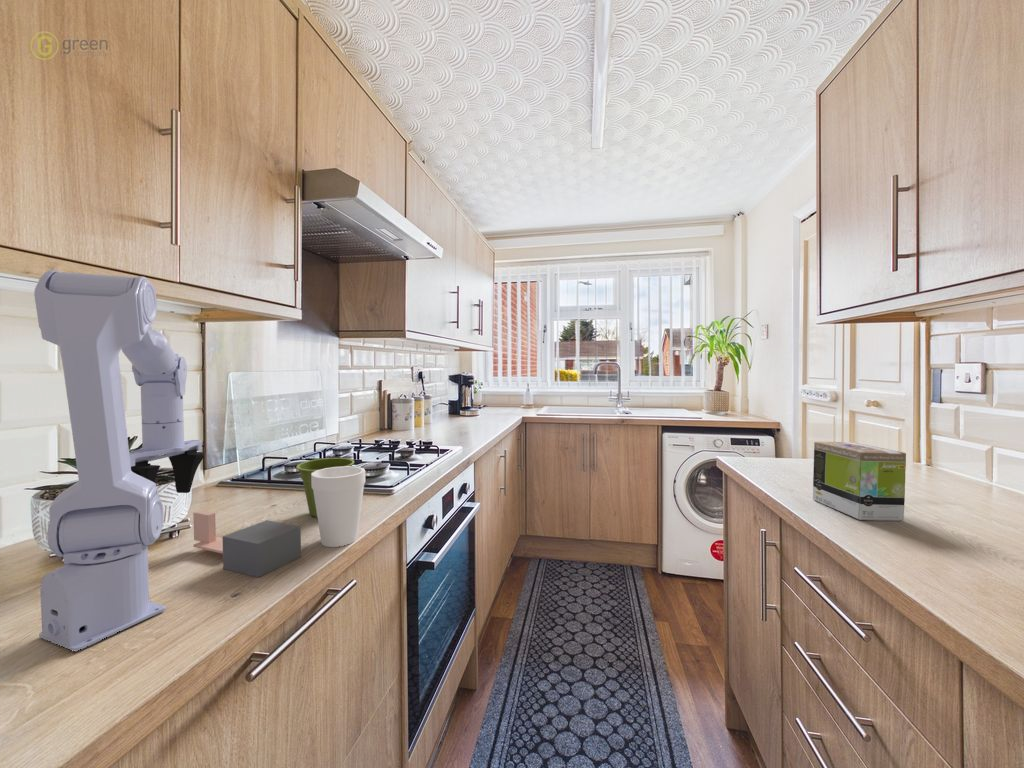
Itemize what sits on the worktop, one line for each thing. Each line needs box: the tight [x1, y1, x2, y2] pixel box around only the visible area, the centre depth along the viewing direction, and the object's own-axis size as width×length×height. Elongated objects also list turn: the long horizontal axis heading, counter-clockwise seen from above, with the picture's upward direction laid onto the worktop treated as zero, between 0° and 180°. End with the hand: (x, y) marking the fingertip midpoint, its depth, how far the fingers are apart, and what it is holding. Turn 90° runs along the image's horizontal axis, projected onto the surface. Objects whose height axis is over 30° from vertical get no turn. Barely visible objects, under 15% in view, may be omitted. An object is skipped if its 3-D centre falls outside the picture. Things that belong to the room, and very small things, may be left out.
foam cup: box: [311, 465, 366, 548], centre depth 81 cm, size 10×9×13 cm
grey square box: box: [221, 519, 302, 578], centre depth 72 cm, size 8×8×5 cm
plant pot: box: [296, 457, 355, 518], centre depth 97 cm, size 12×12×11 cm
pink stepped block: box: [192, 510, 223, 555], centre depth 76 cm, size 4×10×5 cm, turn 69°
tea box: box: [812, 441, 907, 522], centre depth 99 cm, size 15×10×15 cm
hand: (165, 498), depth 76 cm, fingers open, 7 cm apart
